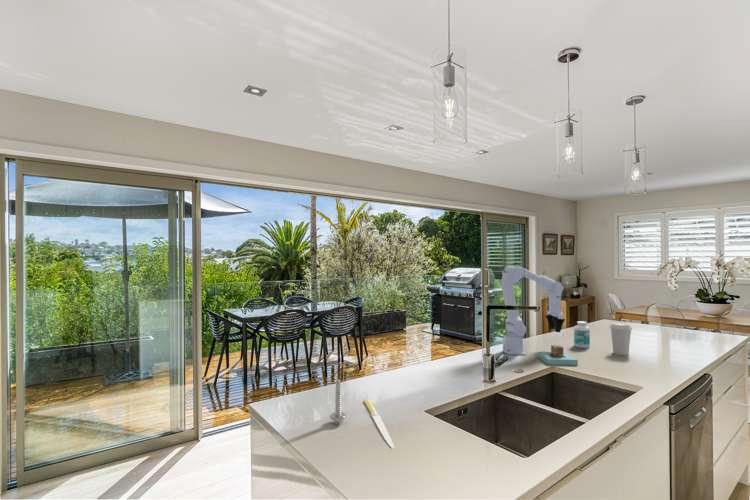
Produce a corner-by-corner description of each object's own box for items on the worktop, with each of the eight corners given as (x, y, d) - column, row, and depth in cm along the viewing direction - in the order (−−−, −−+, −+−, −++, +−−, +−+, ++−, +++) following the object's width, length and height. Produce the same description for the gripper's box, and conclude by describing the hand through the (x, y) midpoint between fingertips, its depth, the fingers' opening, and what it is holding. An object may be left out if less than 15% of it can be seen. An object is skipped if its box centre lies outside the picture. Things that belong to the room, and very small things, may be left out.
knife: (404, 452, 99) (388, 451, 98) (375, 402, 131) (362, 401, 130) (405, 447, 99) (388, 446, 98) (376, 398, 131) (363, 397, 130)
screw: (326, 423, 113) (338, 417, 117) (338, 428, 110) (349, 422, 114) (326, 379, 113) (338, 375, 117) (338, 383, 110) (349, 379, 114)
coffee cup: (613, 355, 189) (612, 325, 189) (607, 350, 198) (607, 321, 198) (635, 356, 186) (635, 326, 186) (628, 351, 195) (628, 322, 195)
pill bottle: (571, 345, 207) (571, 321, 207) (580, 344, 210) (580, 320, 211) (583, 349, 201) (583, 323, 201) (592, 347, 204) (592, 322, 204)
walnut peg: (554, 362, 176) (554, 347, 177) (551, 359, 180) (551, 345, 181) (563, 362, 176) (563, 347, 176) (559, 359, 180) (559, 345, 180)
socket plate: (548, 364, 172) (548, 359, 172) (537, 356, 185) (537, 351, 185) (577, 365, 172) (577, 359, 172) (564, 357, 185) (564, 352, 185)
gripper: (569, 306, 190) (569, 333, 190) (556, 302, 205) (556, 327, 205) (554, 306, 191) (554, 333, 190) (543, 302, 205) (543, 327, 205)
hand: (554, 330), depth 198 cm, fingers open, 7 cm apart
